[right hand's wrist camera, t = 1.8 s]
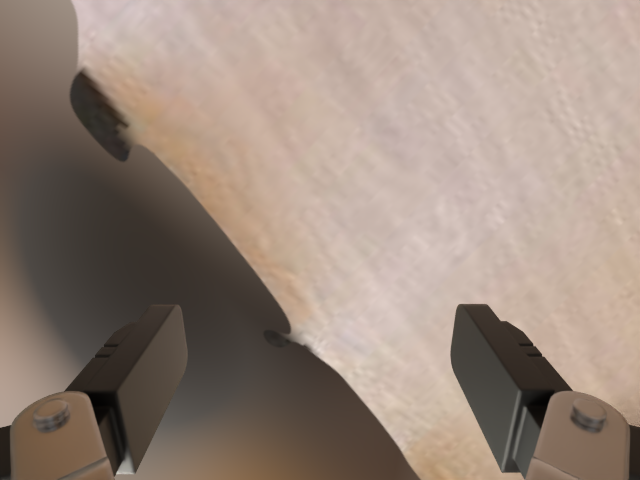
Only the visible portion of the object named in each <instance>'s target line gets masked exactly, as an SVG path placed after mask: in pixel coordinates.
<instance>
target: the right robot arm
mask: <svg viewBox="0 0 640 480" xmlns="http://www.w3.org/2000/svg"><path fill="white" fill-rule="evenodd" d="M186 364H187V345H186V338H185V331H184V323H183V316H182V310H181V308H180V306H179V305H151V306H149V307H148V309H147V310H146V311H145V312H144V314H143V315H142V316H141V317H140V319H139V320H138V321H137V322H130V323H129V324H127V325H126V326H124V327H122V328H121V329H119V330H118V331H116V332H115V333H114V334H113V335H112V336H111V337H110V338H109V340H108V341H107V342H106V343H105V344H104V347H102V348H101V349H100V350H99V351H98V352H97V354H96V355H95V358H92V359H91V361H90V362H89V363H88V364H87V365H86V367H85V368H84V369H83V370H82V371H81V372H80V374H79V375H78V376H77V377H76V378H75V379H74V381H73V382H72V383H71V384H70V385H69V386H68V388H67V389H66V390H65V391H64V392H59V393H56V394H52V395H49V396H47V397H44V398H42V399H40V400H38V401H36V402H34V403H33V404H31V405H29V406H28V407H27V408H25V409H24V410H23V411H22V412H21V413H20V414H19V415H18V416H17V417H16V418H15V419H14V421H13V423H12V425H10V426H6V427H2V428H0V480H115V479H114V477H115V475H116V474H135V473H136V471H137V469H138V467H139V465H140V463H141V461H142V459H143V457H144V455H145V453H146V451H147V448H148V446H149V444H150V442H151V440H152V438H153V436H154V434H155V432H156V430H157V428H158V426H159V424H160V422H161V420H162V417H163V415H164V413H165V411H166V409H167V407H168V405H169V403H170V401H171V399H172V397H173V395H174V393H175V391H176V389H177V386H178V384H179V382H180V380H181V378H182V376H183V374H184V372H185V369H186ZM451 364H452V368H453V371H454V373H455V376H456V378H457V380H458V382H459V384H460V386H461V388H462V390H463V392H464V394H465V396H466V399H467V401H468V403H469V405H470V407H471V409H472V411H473V413H474V415H475V417H476V419H477V422H478V424H479V426H480V428H481V430H482V432H483V434H484V436H485V438H486V440H487V442H488V444H489V447H490V449H491V451H492V453H493V455H494V457H495V459H496V461H497V463H498V465H499V467H500V470H501V472H521V474H522V476H523V478H524V479H525V480H640V427H637V426H632V425H628V423H627V421H626V419H625V418H624V417H623V416H622V415H621V414H620V413H619V412H618V411H617V410H616V409H615V408H613V407H612V406H611V405H609V404H607V403H606V402H604V401H602V400H600V399H598V398H596V397H593V396H591V395H588V394H585V393H581V392H575V391H573V390H572V389H571V388H570V387H569V385H568V384H567V383H566V382H565V381H564V380H563V378H562V377H561V376H560V375H559V374H558V373H557V371H556V370H555V369H554V368H553V367H552V365H551V364H550V363H549V362H548V361H547V360H546V358H545V357H542V354H541V352H540V351H539V350H538V349H537V348H536V347H535V346H533V343H532V342H531V341H530V340H529V338H528V337H527V336H526V335H525V334H524V332H523V331H521V330H519V329H518V328H516V327H515V326H513V325H512V324H510V323H509V322H507V321H500V320H499V318H498V317H497V316H496V315H495V313H494V312H493V311H492V310H491V308H490V307H489V306H488V305H487V304H459V305H458V307H457V310H456V315H455V322H454V329H453V337H452V344H451Z"/></svg>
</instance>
